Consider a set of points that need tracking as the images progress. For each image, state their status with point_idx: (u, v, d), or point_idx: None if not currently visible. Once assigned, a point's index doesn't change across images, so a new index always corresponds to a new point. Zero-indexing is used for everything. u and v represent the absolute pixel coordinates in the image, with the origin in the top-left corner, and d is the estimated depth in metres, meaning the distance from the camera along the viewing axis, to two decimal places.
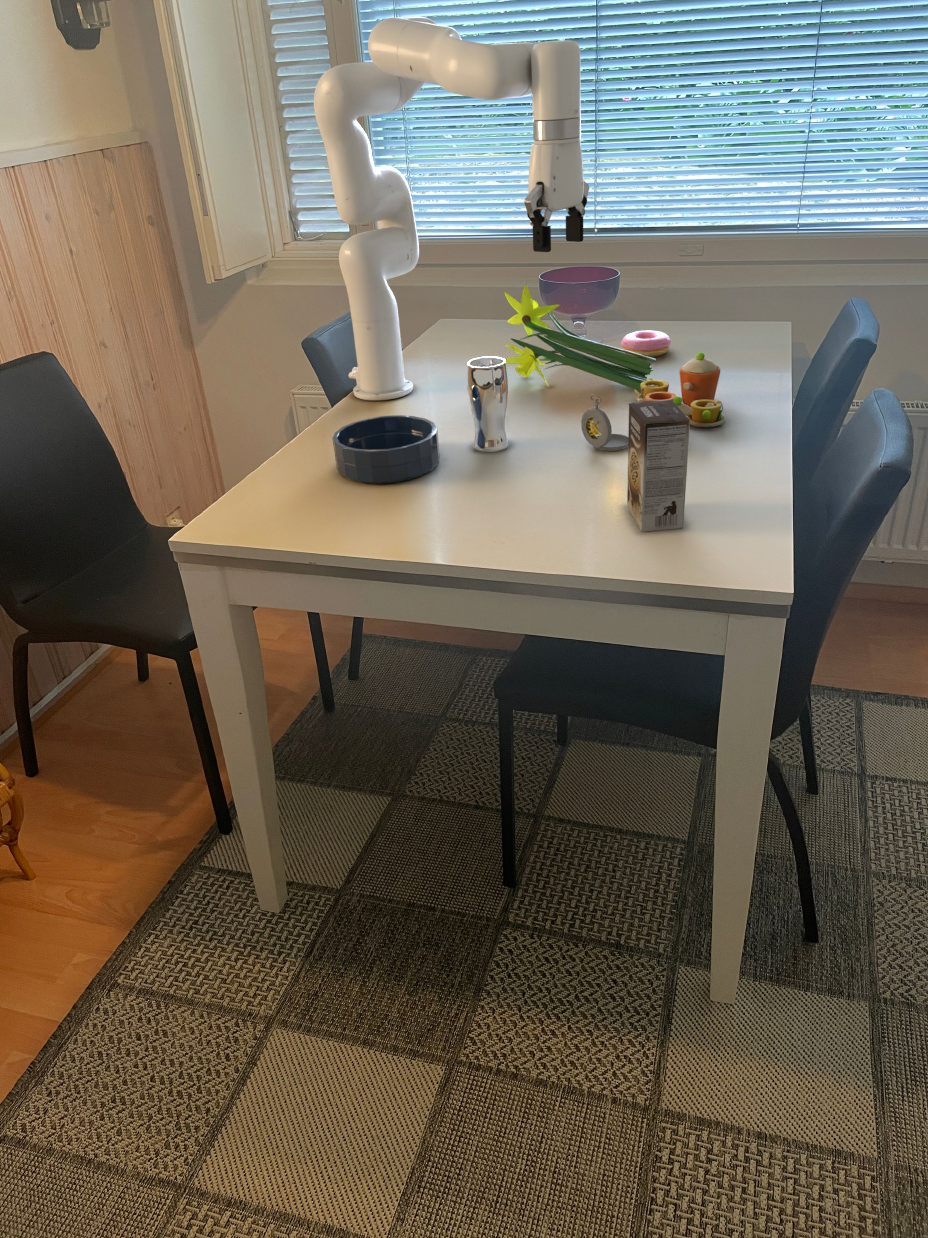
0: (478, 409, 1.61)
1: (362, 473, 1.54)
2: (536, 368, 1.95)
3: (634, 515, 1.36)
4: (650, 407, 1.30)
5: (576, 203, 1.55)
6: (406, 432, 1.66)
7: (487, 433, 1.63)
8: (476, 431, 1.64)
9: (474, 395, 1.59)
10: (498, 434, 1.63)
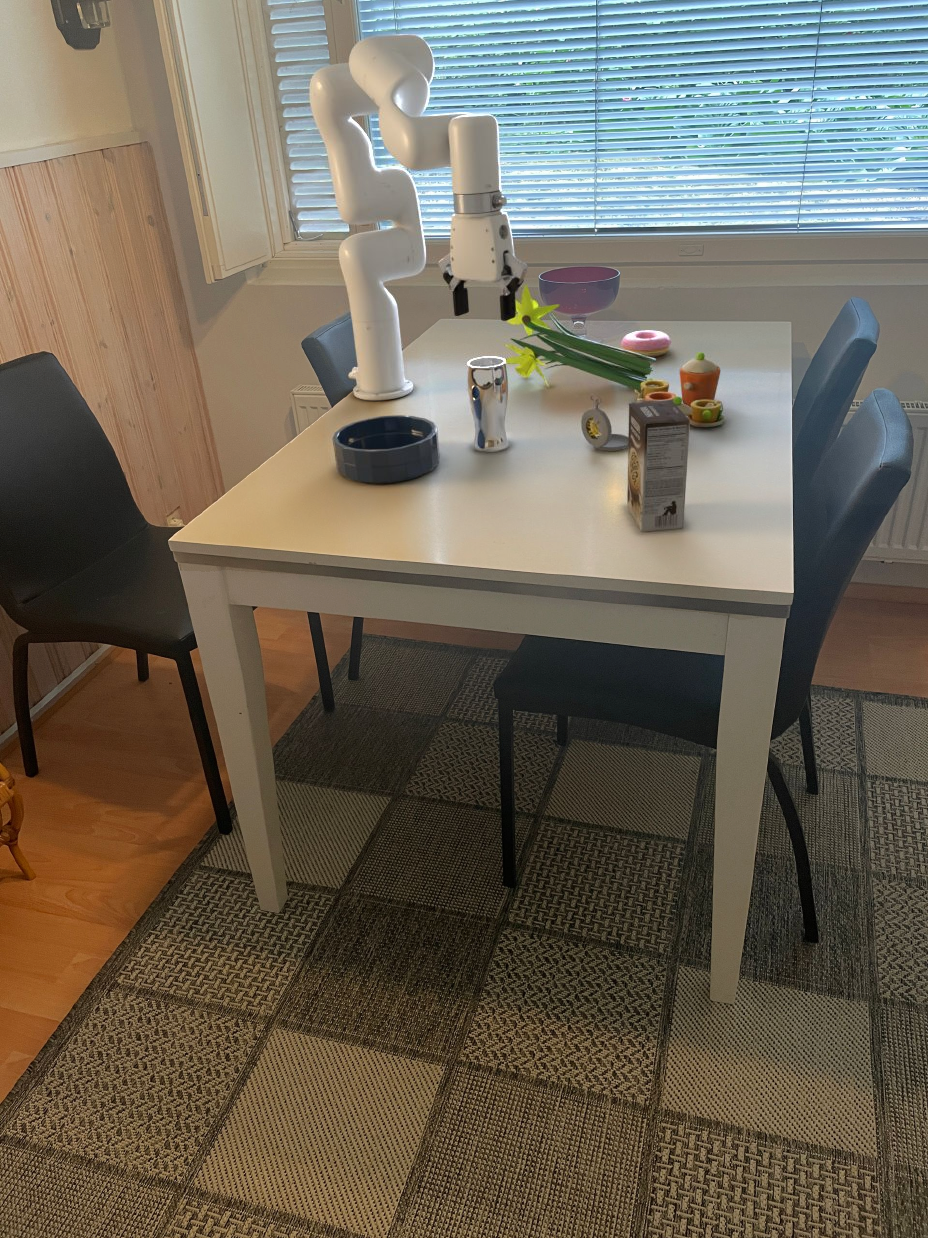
0: (479, 409, 1.61)
1: (362, 473, 1.54)
2: (536, 368, 1.95)
3: (634, 515, 1.36)
4: (650, 407, 1.30)
5: (486, 279, 1.49)
6: (406, 432, 1.66)
7: (487, 433, 1.63)
8: (476, 431, 1.64)
9: (474, 395, 1.59)
10: (498, 434, 1.63)
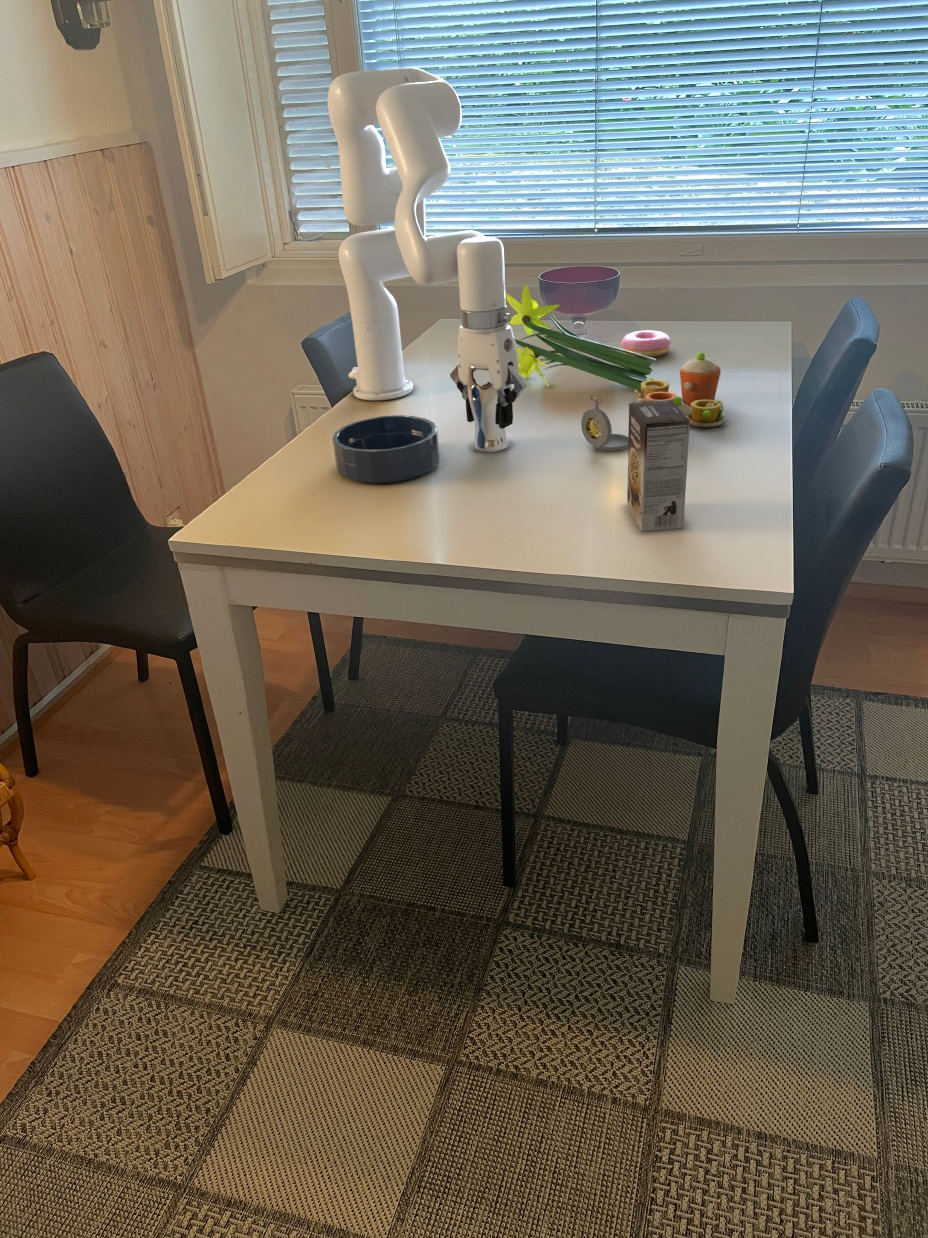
0: (478, 409, 1.61)
1: (362, 473, 1.54)
2: (536, 368, 1.95)
3: (634, 515, 1.36)
4: (650, 407, 1.30)
5: None
6: (406, 432, 1.66)
7: (487, 433, 1.63)
8: (476, 431, 1.64)
9: (474, 395, 1.59)
10: (498, 434, 1.63)
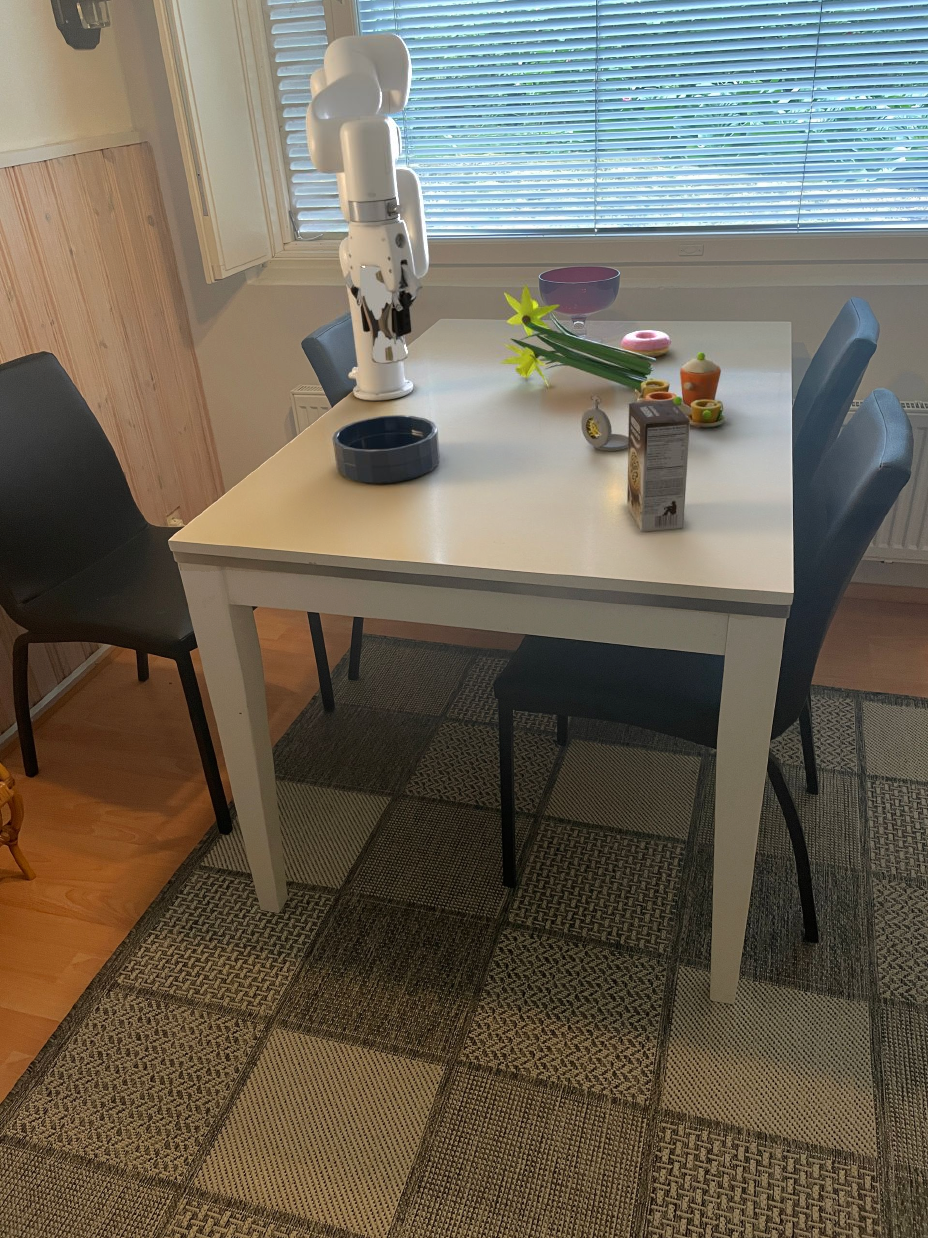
0: (372, 315, 1.47)
1: (362, 473, 1.54)
2: (536, 368, 1.95)
3: (634, 515, 1.36)
4: (650, 407, 1.30)
5: None
6: (406, 432, 1.66)
7: (383, 342, 1.50)
8: (372, 341, 1.51)
9: (367, 299, 1.46)
10: (396, 343, 1.50)
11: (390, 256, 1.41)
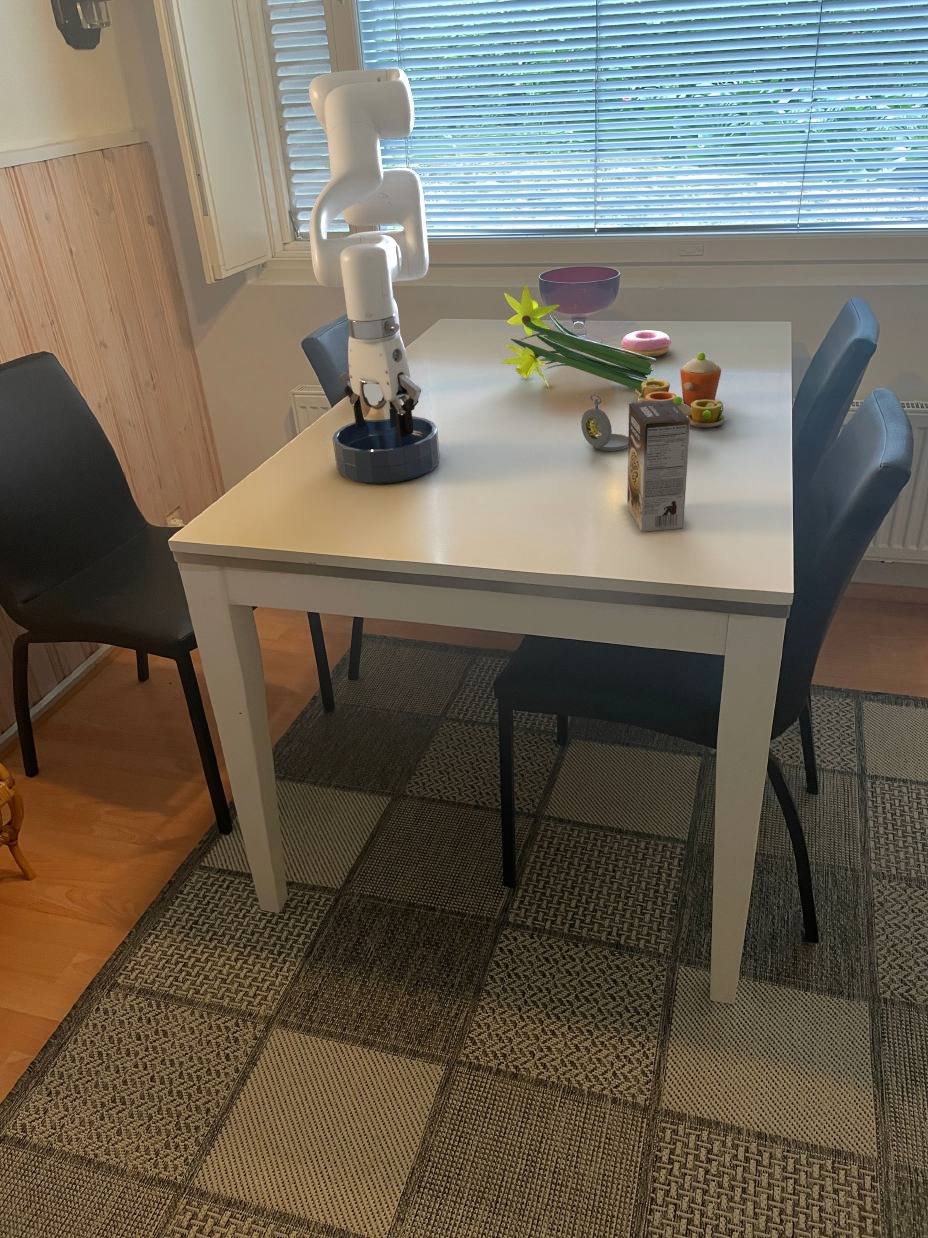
0: (371, 425, 1.56)
1: (362, 473, 1.54)
2: (536, 368, 1.94)
3: (634, 515, 1.36)
4: (650, 407, 1.30)
5: None
6: None
7: None
8: (371, 447, 1.59)
9: (366, 410, 1.54)
10: None
11: (387, 370, 1.49)
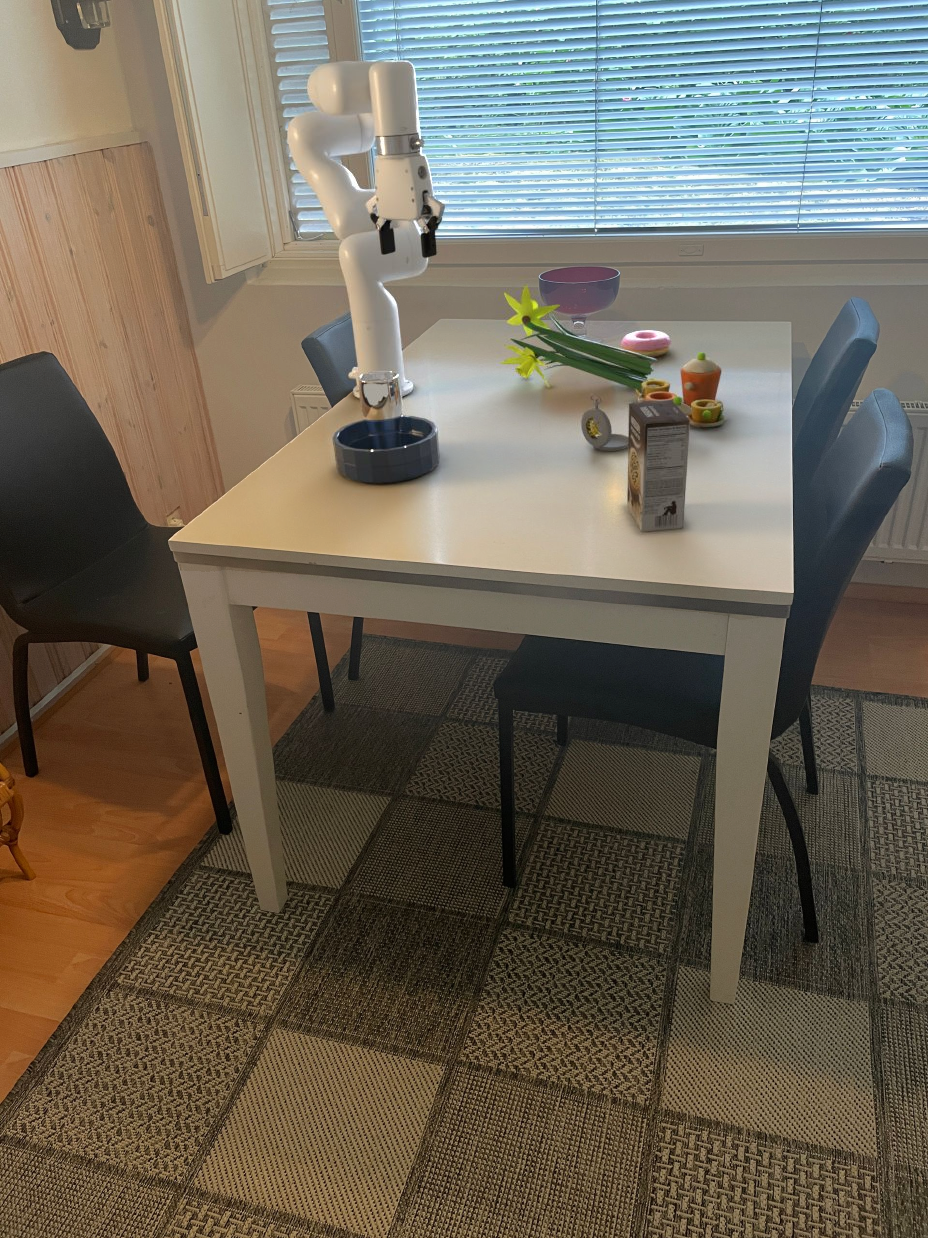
0: (371, 425, 1.56)
1: (362, 473, 1.54)
2: (536, 368, 1.94)
3: (634, 515, 1.36)
4: (650, 407, 1.30)
5: (408, 218, 1.60)
6: (406, 432, 1.66)
7: None
8: (371, 447, 1.59)
9: (366, 410, 1.54)
10: None
11: (413, 186, 1.56)
